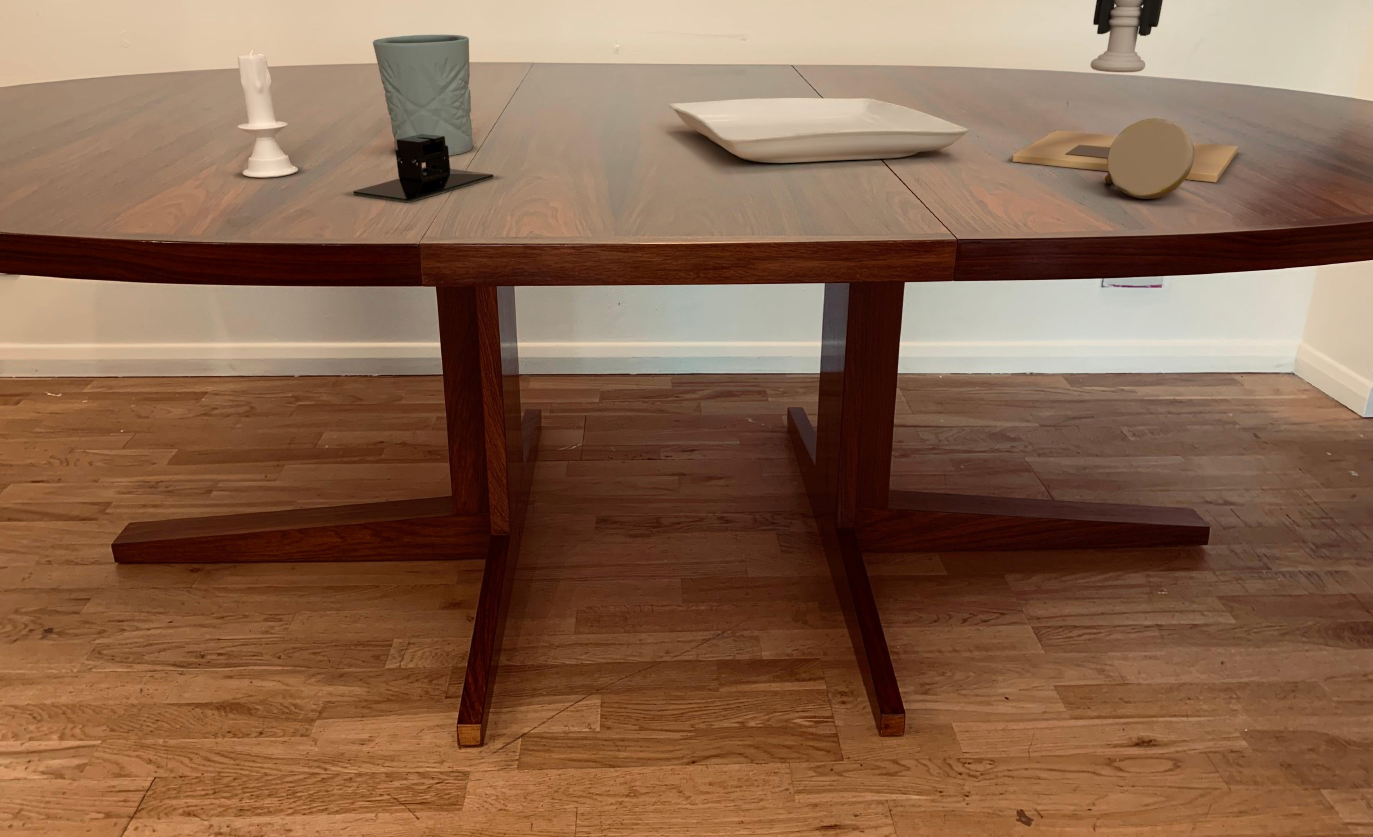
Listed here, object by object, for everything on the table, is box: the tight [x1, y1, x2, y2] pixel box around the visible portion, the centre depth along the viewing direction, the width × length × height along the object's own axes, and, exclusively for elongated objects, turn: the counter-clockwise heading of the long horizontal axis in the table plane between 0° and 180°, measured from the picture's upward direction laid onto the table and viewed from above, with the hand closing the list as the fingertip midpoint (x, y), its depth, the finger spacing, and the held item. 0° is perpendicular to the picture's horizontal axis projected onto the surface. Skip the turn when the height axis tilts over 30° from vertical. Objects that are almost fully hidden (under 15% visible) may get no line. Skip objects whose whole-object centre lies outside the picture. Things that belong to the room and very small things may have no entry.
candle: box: [237, 48, 299, 179], centre depth 101 cm, size 5×5×12 cm
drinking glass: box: [372, 34, 474, 157], centre depth 113 cm, size 10×10×12 cm
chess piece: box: [1090, 0, 1146, 73], centre depth 104 cm, size 5×5×9 cm
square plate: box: [668, 97, 970, 164], centre depth 117 cm, size 27×27×4 cm
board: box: [1011, 130, 1239, 183], centre depth 111 cm, size 20×18×1 cm
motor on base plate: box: [352, 134, 495, 203], centre depth 97 cm, size 12×7×5 cm, turn 152°
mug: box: [1104, 117, 1194, 200], centre depth 94 cm, size 8×10×10 cm
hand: (1123, 32), depth 104 cm, fingers closed on chess piece, 3 cm apart
